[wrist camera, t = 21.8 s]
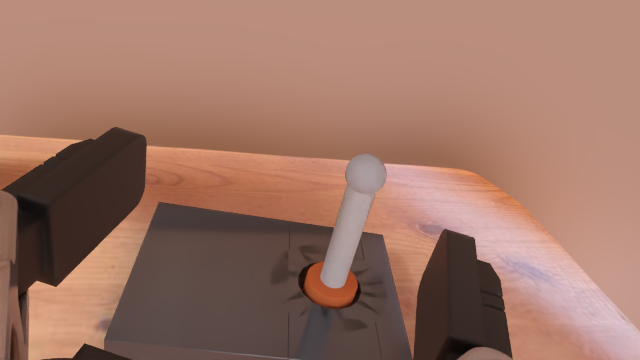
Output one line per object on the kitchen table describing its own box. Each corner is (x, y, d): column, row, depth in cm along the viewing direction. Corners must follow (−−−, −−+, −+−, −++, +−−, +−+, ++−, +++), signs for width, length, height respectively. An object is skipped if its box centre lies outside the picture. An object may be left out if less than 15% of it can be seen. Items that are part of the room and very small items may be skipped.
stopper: (299, 322, 41) (344, 167, 33) (299, 284, 45) (339, 137, 37) (351, 328, 42) (406, 178, 34) (346, 290, 46) (395, 147, 38)
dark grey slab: (104, 363, 34) (103, 339, 33) (157, 222, 48) (158, 201, 46) (405, 392, 38) (416, 372, 36) (375, 253, 51) (382, 234, 50)
